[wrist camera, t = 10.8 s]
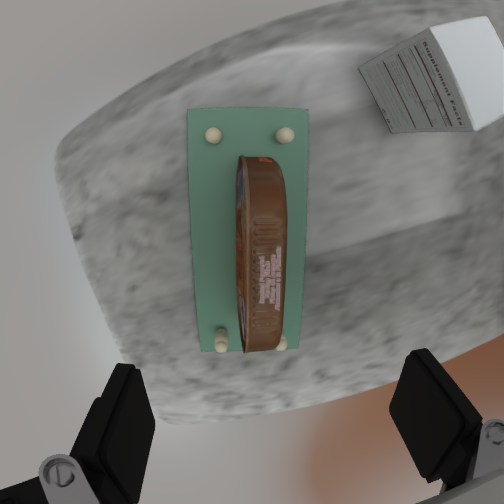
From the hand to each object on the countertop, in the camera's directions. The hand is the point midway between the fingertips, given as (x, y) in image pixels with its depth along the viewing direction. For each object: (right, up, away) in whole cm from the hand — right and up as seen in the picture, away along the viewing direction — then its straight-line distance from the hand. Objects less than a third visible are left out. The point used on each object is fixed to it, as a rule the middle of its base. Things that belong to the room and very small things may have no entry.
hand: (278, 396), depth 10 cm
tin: (-1, +6, +18) cm, 19 cm away
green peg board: (-1, +6, +19) cm, 20 cm away
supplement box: (+14, +21, +15) cm, 29 cm away
